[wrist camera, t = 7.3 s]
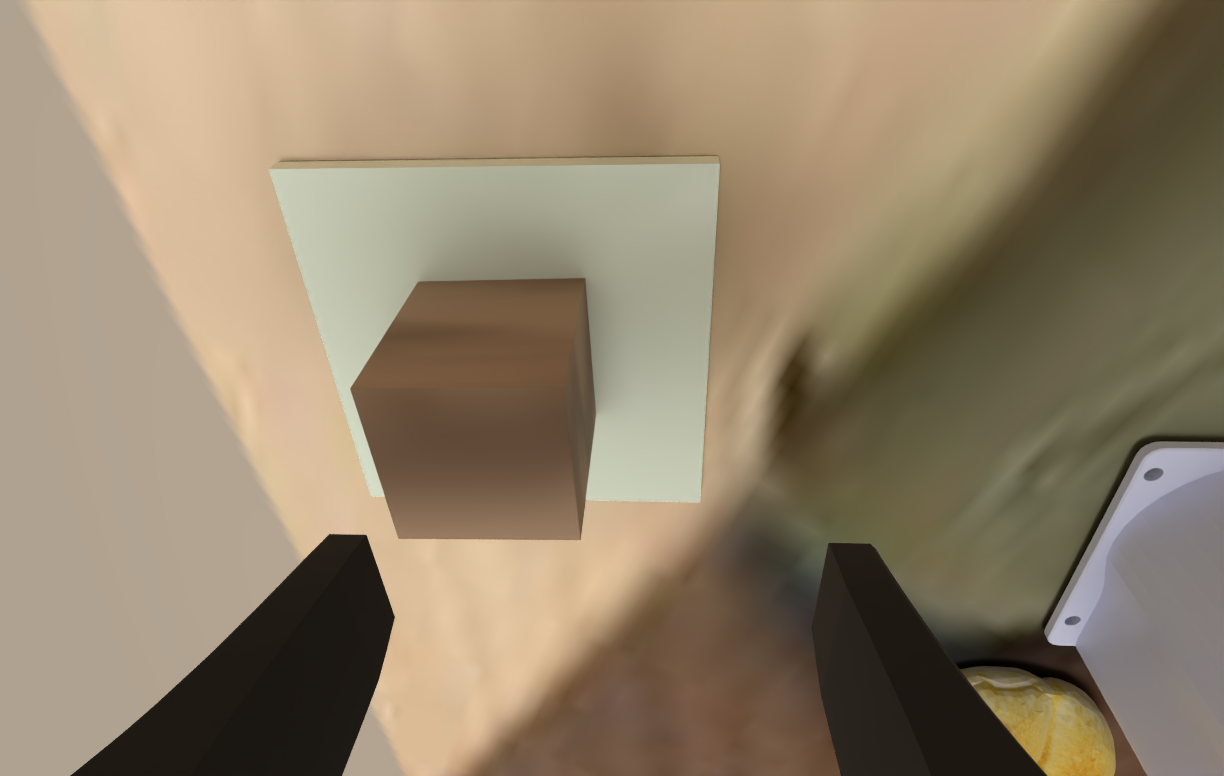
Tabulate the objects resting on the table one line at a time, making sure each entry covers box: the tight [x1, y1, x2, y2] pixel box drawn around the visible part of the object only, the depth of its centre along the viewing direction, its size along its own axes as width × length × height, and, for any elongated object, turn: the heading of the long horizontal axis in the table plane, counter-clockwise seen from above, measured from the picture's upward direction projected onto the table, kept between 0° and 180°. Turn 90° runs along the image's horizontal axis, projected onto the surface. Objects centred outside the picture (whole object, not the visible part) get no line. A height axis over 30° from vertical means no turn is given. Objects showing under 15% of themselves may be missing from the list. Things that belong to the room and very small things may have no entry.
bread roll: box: [960, 666, 1116, 776], centre depth 28 cm, size 8×9×4 cm
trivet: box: [269, 156, 720, 503], centre depth 20 cm, size 11×11×1 cm
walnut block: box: [350, 278, 596, 540], centre depth 18 cm, size 4×4×5 cm
